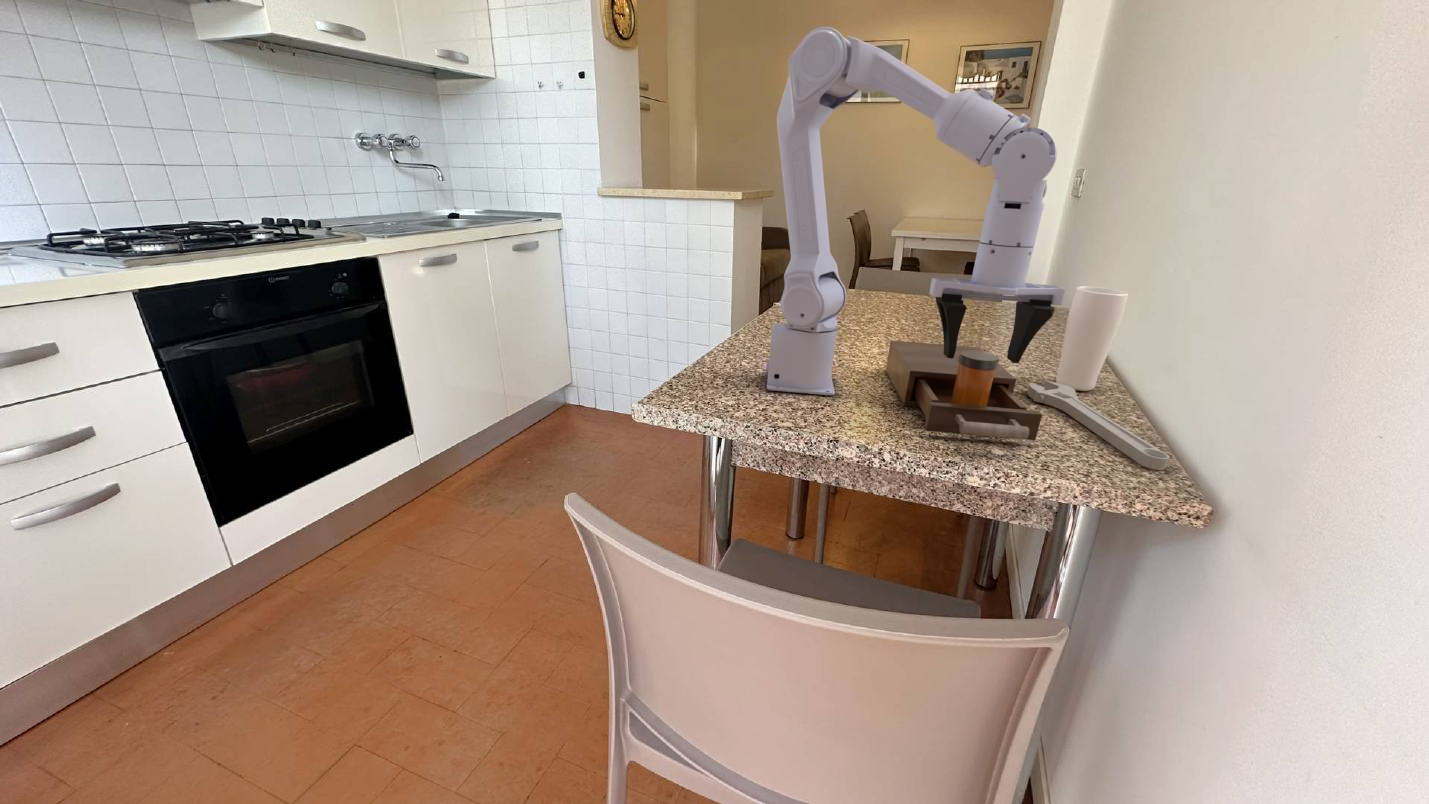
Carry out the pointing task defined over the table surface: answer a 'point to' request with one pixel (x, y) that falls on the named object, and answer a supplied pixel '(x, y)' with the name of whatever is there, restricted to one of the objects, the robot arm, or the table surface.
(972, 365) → the spice jar
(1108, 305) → the drinking glass
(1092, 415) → the adjustable wrench
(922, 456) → the table surface
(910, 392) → the cabinet
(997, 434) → the drawer
